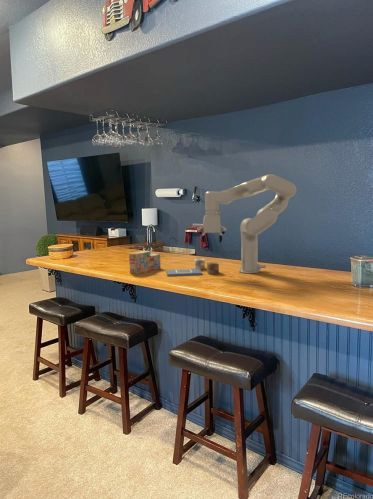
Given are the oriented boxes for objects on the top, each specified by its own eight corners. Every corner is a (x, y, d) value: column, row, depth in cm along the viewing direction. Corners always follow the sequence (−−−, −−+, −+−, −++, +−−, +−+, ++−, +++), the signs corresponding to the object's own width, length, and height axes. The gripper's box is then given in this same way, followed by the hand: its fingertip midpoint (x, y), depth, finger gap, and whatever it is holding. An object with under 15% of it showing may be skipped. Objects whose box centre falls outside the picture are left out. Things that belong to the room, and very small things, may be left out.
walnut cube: (217, 272, 224) (216, 262, 223) (218, 274, 218) (218, 263, 217) (207, 272, 223) (207, 262, 222) (208, 274, 217) (208, 264, 216)
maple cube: (203, 267, 238) (203, 258, 237) (205, 269, 232) (204, 260, 231) (194, 268, 237) (194, 258, 237) (195, 270, 231) (195, 260, 231)
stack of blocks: (153, 267, 243) (152, 248, 241) (160, 268, 239) (160, 249, 238) (129, 273, 226) (128, 253, 225) (137, 274, 223) (136, 253, 221)
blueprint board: (199, 270, 230) (198, 268, 229) (202, 274, 216) (202, 272, 216) (166, 271, 228) (166, 269, 228) (167, 276, 214) (167, 274, 214)
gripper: (225, 212, 220) (225, 241, 222) (196, 213, 219) (196, 242, 221) (227, 213, 213) (227, 243, 215) (197, 213, 211) (197, 243, 213)
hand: (211, 242), depth 218 cm, fingers open, 9 cm apart
